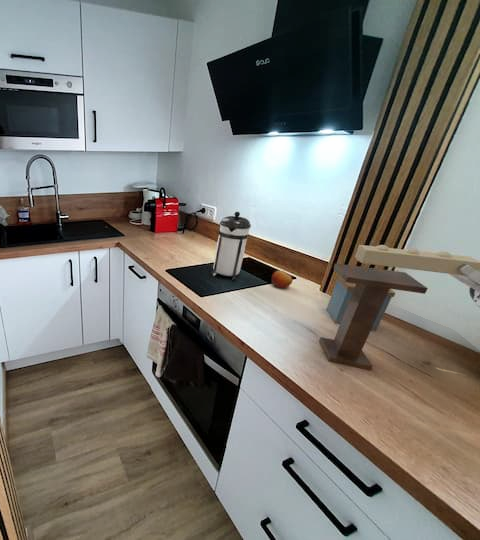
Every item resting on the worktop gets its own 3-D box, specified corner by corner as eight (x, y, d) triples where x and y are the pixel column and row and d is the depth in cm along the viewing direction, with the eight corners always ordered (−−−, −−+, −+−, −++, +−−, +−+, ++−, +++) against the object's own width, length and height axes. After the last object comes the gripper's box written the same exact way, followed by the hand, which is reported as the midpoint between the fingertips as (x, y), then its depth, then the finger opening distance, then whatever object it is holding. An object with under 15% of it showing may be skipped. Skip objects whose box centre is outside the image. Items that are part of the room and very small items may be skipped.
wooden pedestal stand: (368, 351, 86) (405, 272, 75) (383, 373, 77) (428, 288, 67) (308, 338, 91) (335, 263, 80) (316, 358, 82) (347, 276, 72)
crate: (364, 315, 105) (380, 279, 99) (377, 331, 95) (395, 293, 90) (325, 308, 108) (337, 274, 103) (333, 323, 99) (348, 286, 93)
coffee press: (250, 280, 130) (266, 215, 118) (218, 282, 127) (230, 215, 115) (231, 265, 146) (243, 207, 134) (201, 267, 143) (211, 207, 131)
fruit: (263, 278, 129) (277, 265, 126) (277, 287, 130) (290, 274, 127) (269, 286, 122) (284, 272, 118) (283, 295, 123) (298, 282, 119)
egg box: (462, 270, 69) (471, 252, 67) (476, 277, 65) (487, 258, 63) (354, 257, 75) (360, 240, 73) (361, 263, 71) (368, 245, 69)
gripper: (484, 271, 74) (438, 240, 74) (566, 309, 56) (504, 268, 57) (458, 288, 77) (414, 257, 78) (528, 329, 59) (470, 289, 60)
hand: (453, 262), depth 67 cm, fingers closed on egg box, 4 cm apart
